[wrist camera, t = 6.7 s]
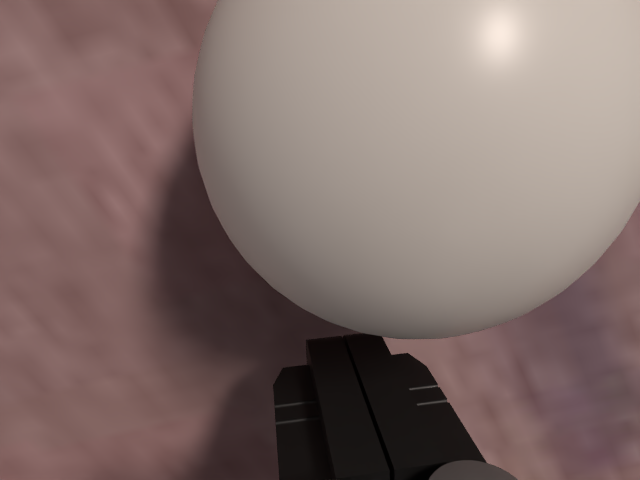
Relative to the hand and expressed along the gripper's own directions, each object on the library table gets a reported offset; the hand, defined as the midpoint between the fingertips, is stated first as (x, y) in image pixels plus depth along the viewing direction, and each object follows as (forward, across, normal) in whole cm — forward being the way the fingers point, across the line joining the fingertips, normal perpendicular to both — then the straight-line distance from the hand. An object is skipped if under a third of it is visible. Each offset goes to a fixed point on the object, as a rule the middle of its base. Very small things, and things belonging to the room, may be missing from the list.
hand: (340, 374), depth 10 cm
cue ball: (-2, -1, -5) cm, 5 cm away
